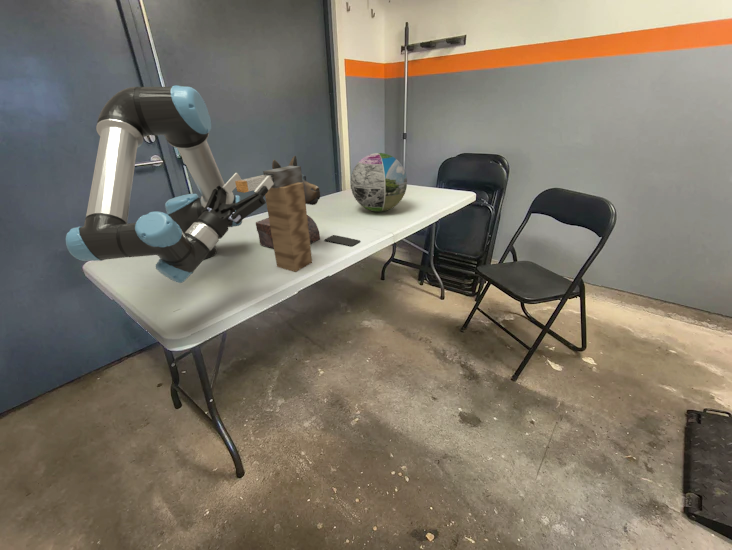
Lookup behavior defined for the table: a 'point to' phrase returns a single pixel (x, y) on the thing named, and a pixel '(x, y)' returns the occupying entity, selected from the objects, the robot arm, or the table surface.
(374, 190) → the photo panel ball
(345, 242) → the smartphone
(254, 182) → the orange-tipped white stick
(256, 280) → the table surface
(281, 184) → the pedestal
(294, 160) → the dog bust
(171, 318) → the table surface
